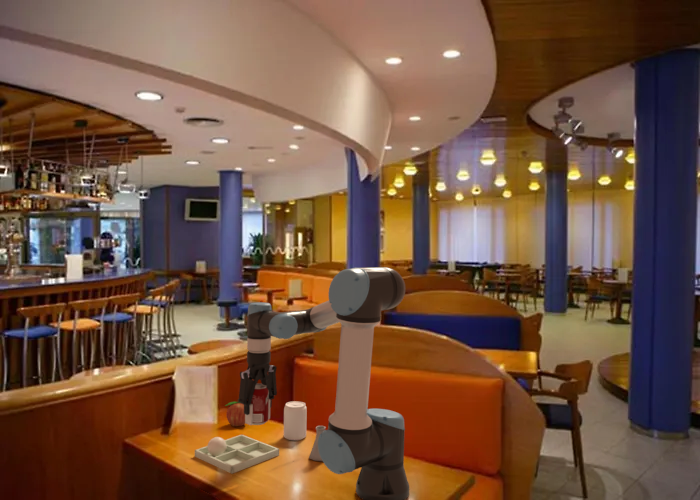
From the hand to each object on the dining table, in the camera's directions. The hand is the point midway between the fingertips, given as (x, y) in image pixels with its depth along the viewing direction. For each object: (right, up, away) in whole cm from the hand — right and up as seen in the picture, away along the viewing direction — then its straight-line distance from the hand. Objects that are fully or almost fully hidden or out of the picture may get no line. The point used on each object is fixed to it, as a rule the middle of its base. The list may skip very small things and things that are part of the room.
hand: (257, 420), depth 180 cm
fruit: (-13, -11, +31) cm, 36 cm away
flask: (+20, -13, +2) cm, 24 cm away
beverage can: (+10, -12, +20) cm, 25 cm away
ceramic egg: (-13, -11, -1) cm, 17 cm away
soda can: (0, -1, 0) cm, 1 cm away
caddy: (-7, -12, 0) cm, 14 cm away
